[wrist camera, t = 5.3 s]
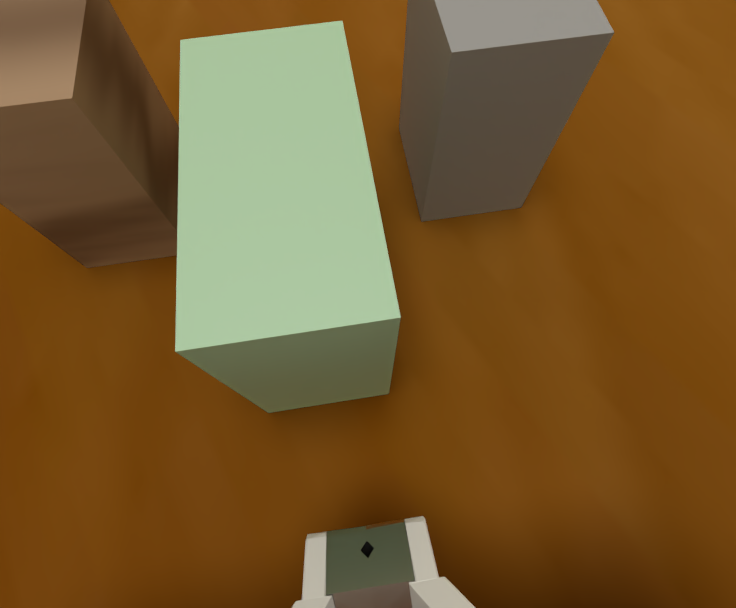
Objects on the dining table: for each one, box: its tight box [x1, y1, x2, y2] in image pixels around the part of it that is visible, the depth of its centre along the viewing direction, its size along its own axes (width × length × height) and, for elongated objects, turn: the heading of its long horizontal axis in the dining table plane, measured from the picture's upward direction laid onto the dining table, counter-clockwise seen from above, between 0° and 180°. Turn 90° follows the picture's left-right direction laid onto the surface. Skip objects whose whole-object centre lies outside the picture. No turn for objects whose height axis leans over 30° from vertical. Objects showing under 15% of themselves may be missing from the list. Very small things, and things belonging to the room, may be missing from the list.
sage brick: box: [175, 21, 401, 413], centre depth 16 cm, size 10×5×9 cm, turn 9°
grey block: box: [399, 0, 614, 222], centre depth 18 cm, size 6×5×9 cm
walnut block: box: [0, 0, 179, 268], centre depth 18 cm, size 6×5×9 cm
